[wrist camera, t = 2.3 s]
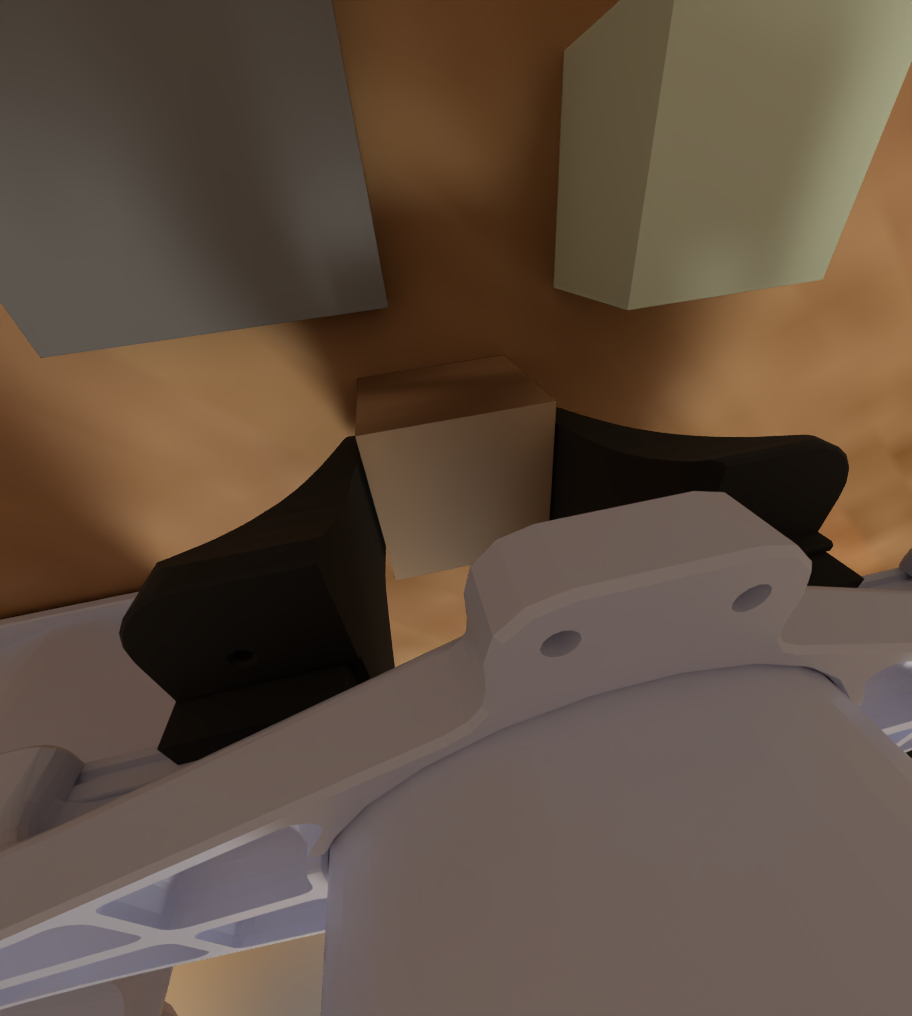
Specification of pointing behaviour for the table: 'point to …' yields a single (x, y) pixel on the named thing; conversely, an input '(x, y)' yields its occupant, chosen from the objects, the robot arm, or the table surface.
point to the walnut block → (454, 459)
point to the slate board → (177, 171)
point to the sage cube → (719, 142)
